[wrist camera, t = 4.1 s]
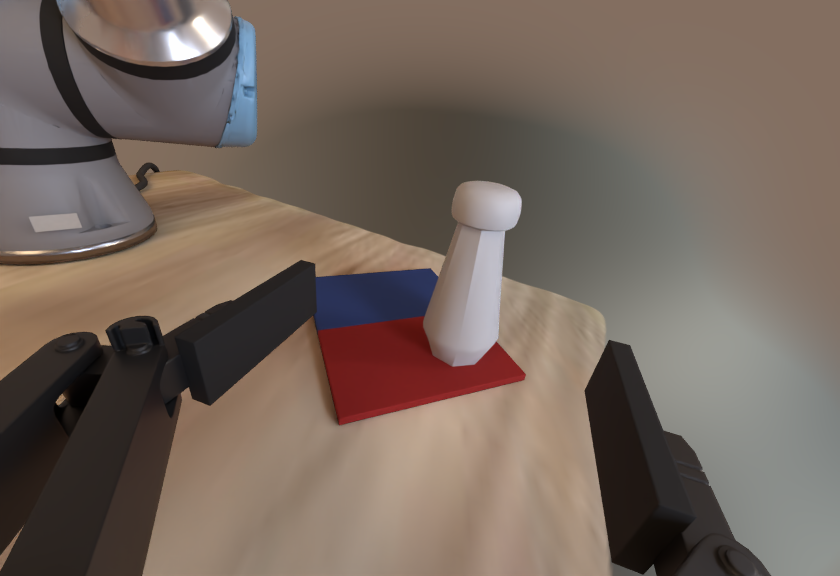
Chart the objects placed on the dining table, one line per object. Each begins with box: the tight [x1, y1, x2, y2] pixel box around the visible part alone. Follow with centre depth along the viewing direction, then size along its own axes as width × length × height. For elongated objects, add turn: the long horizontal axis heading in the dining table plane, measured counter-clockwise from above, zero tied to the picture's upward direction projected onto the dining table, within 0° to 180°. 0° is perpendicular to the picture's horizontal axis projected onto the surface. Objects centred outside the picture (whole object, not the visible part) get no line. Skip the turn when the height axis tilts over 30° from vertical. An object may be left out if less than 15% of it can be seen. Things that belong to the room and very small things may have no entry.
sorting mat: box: [313, 268, 526, 425], centre depth 30 cm, size 18×14×1 cm
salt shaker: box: [423, 181, 522, 367], centre depth 24 cm, size 6×6×13 cm
